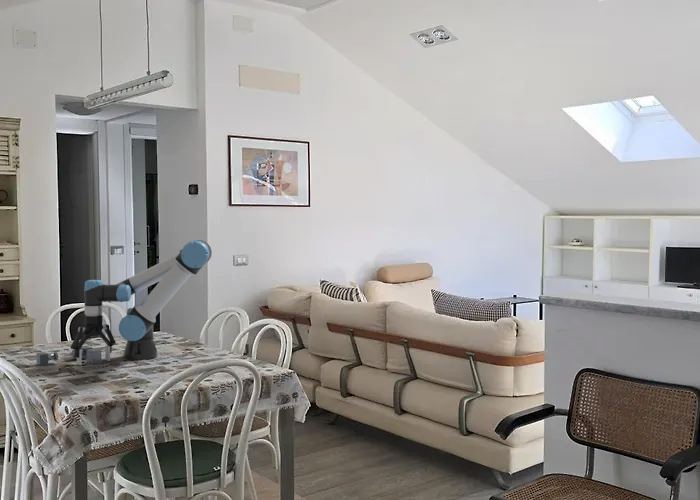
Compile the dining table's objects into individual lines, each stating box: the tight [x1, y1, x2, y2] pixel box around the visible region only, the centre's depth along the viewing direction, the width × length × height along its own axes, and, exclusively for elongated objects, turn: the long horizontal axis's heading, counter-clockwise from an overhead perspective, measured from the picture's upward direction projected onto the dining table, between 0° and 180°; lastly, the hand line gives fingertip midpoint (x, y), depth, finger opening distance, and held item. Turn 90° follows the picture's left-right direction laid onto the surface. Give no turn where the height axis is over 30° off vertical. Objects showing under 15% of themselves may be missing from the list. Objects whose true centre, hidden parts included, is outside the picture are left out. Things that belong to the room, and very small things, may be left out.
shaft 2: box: [71, 346, 93, 360], centre depth 328 cm, size 8×5×5 cm, turn 146°
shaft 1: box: [35, 351, 59, 367], centre depth 316 cm, size 8×5×5 cm, turn 130°
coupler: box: [86, 347, 102, 365], centre depth 320 cm, size 6×4×6 cm
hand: (93, 362), depth 320 cm, fingers open, 13 cm apart
